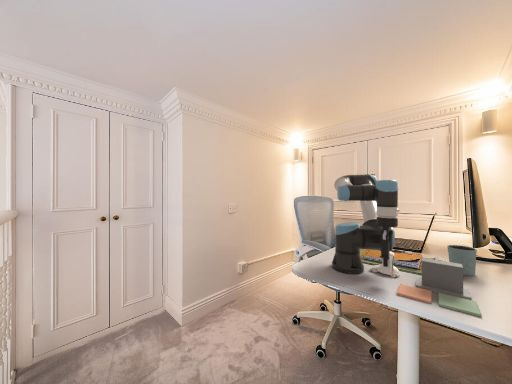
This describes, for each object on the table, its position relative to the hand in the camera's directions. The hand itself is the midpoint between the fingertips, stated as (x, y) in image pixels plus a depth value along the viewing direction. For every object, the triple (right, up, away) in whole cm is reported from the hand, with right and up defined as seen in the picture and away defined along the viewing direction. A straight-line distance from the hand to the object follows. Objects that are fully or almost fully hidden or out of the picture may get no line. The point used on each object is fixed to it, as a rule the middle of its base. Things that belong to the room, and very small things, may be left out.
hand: (386, 271), depth 86 cm
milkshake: (0, -1, 0) cm, 1 cm away
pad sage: (+15, -6, -15) cm, 22 cm away
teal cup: (+45, -6, +13) cm, 47 cm away
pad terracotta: (+6, -6, -7) cm, 11 cm away
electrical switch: (+27, -6, +6) cm, 28 cm away
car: (+8, -6, +13) cm, 17 cm away
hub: (+19, -6, -4) cm, 21 cm away
